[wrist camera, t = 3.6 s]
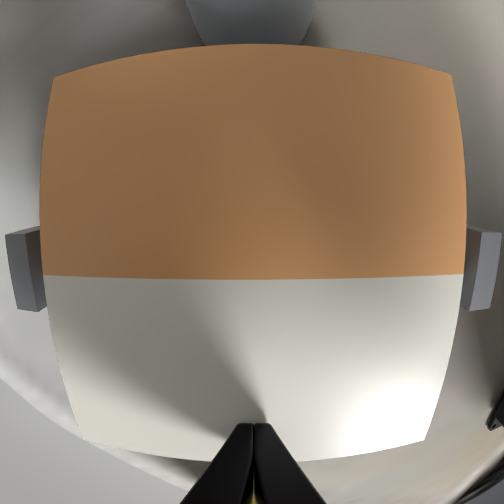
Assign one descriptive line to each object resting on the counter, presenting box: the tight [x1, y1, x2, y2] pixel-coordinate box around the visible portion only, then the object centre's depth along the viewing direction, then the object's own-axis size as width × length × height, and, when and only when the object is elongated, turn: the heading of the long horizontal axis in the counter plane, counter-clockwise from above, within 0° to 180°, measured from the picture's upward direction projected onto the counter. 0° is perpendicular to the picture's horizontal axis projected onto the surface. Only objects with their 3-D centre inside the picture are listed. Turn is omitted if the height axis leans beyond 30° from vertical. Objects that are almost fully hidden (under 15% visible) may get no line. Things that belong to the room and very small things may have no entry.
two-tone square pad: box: [40, 44, 467, 462], centre depth 7 cm, size 12×11×2 cm
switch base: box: [5, 224, 502, 312], centre depth 10 cm, size 16×13×6 cm
